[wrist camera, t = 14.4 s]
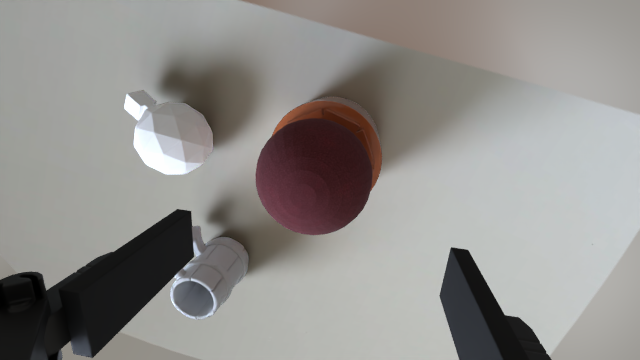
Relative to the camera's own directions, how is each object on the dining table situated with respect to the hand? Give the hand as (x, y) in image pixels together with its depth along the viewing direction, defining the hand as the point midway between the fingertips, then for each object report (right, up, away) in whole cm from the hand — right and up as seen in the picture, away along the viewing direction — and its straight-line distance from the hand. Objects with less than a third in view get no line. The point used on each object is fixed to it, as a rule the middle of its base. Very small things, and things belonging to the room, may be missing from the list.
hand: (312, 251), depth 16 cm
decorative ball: (+1, +5, +16) cm, 17 cm away
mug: (-15, -7, +32) cm, 36 cm away
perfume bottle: (-18, +11, +27) cm, 34 cm away
